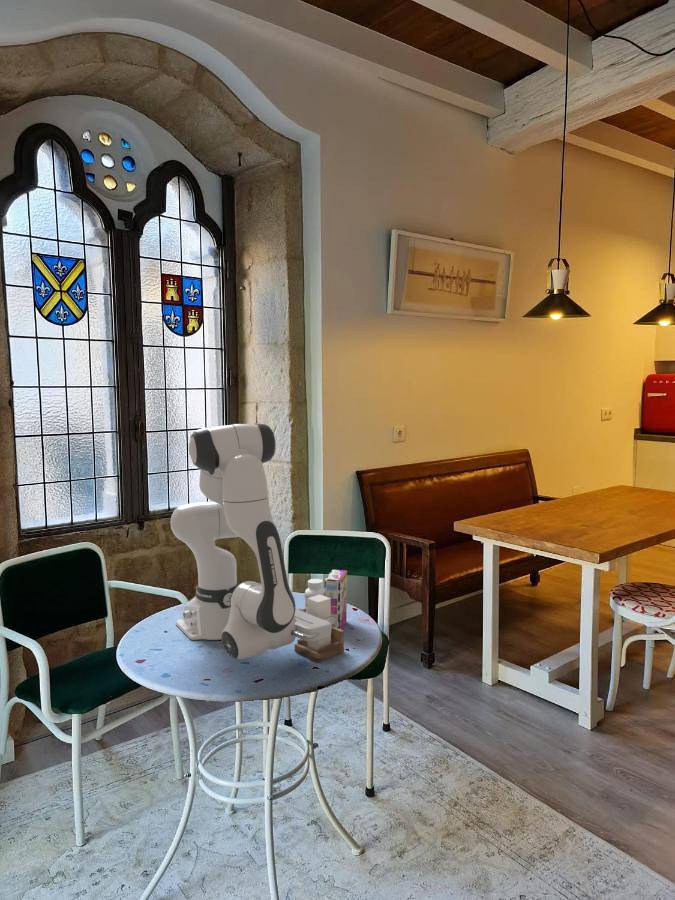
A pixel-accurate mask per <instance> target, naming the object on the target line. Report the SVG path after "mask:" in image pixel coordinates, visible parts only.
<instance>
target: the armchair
mask: <svg viewBox="0 0 675 900" xmlns="http://www.w3.org/2000/svg"><path fill="white" fill-rule="evenodd" d="M295 652H296V653H297V654H299V653H300V654H299V655H301V654H302V655H301V656H303V655H304V657H306V658H308V659H310V660H312V661H314V662H316V663H319V662H322V661H325V660H328V659H330V658H332V657H335V656H338V655H340V654H341V653H342V652H343V653H344V652H345V630H343V629H342V630H341V629H338V628H336V627H334V626H331V644H330V645H328V646H325V647H322V648H320V649H318V653H317V652H315V651H313V650H311V649H309V648H308V642H307V641H304V640H302V639H300V638H298V639H297V643H294V653H295ZM339 653H340V654H339Z"/></svg>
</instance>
